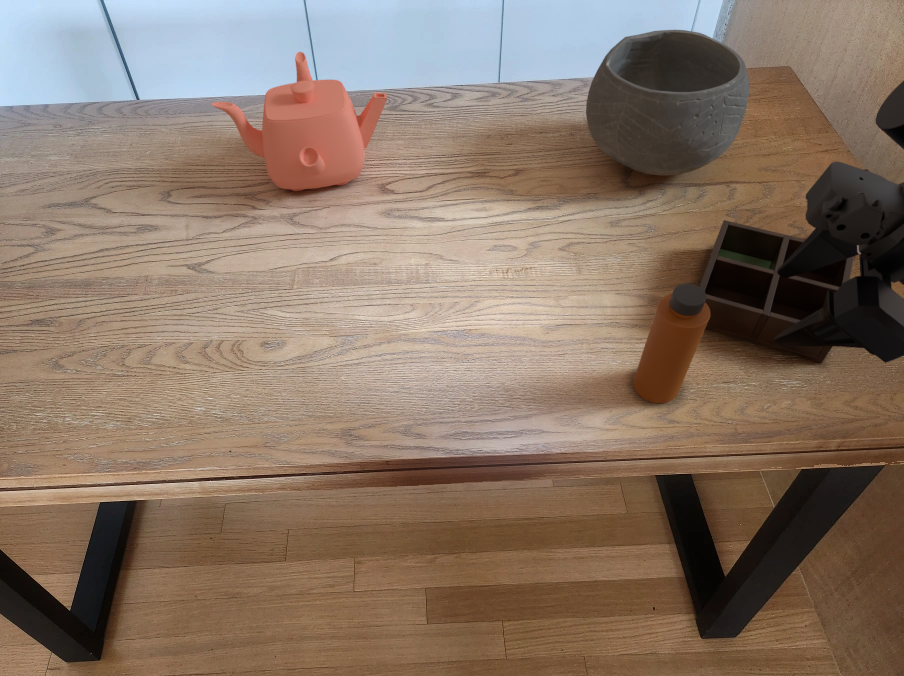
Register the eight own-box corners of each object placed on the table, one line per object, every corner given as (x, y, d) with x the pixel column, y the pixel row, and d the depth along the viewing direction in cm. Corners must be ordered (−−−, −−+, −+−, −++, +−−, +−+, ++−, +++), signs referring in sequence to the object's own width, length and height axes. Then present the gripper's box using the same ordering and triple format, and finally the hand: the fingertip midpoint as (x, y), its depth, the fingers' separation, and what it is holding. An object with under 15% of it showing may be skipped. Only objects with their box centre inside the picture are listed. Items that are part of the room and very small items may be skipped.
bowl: (744, 198, 92) (785, 95, 81) (591, 206, 93) (610, 105, 82) (701, 117, 105) (731, 18, 94) (568, 124, 107) (581, 28, 95)
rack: (837, 279, 81) (855, 250, 78) (821, 363, 73) (840, 335, 70) (713, 248, 86) (723, 219, 83) (685, 323, 78) (696, 295, 75)
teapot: (234, 182, 103) (208, 97, 92) (314, 126, 111) (298, 43, 101) (322, 222, 95) (303, 134, 84) (399, 159, 104) (392, 72, 93)
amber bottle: (683, 377, 73) (721, 285, 63) (672, 409, 71) (710, 319, 60) (640, 363, 75) (670, 271, 64) (627, 394, 73) (657, 303, 62)
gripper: (886, 76, 53) (723, 197, 65) (905, 219, 42) (705, 330, 55) (977, 160, 55) (802, 261, 67) (1018, 316, 44) (801, 402, 57)
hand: (778, 307), depth 61 cm, fingers open, 9 cm apart
